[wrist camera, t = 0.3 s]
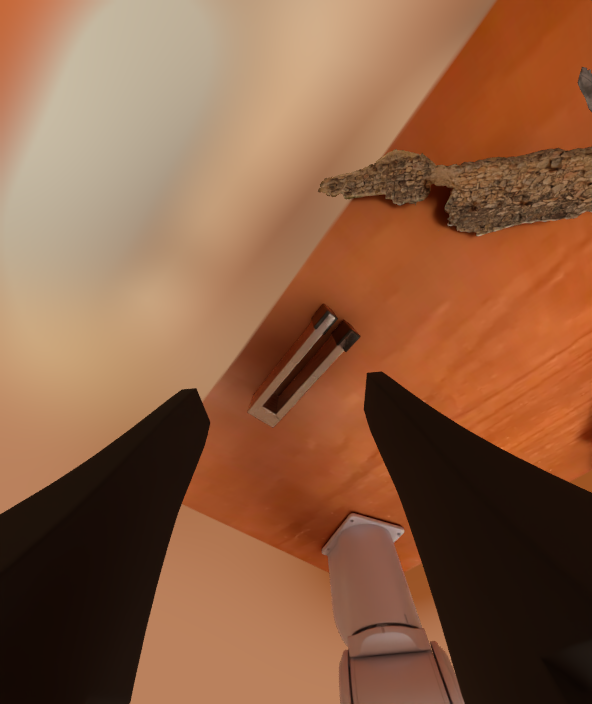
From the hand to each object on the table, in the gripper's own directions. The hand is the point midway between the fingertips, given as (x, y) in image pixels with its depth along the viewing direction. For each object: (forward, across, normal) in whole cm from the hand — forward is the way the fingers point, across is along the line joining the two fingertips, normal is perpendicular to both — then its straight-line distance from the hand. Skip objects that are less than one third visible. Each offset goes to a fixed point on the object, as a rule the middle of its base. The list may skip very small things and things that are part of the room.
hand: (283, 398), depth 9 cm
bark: (+8, -15, -10) cm, 19 cm away
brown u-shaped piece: (+10, -1, +4) cm, 10 cm away
